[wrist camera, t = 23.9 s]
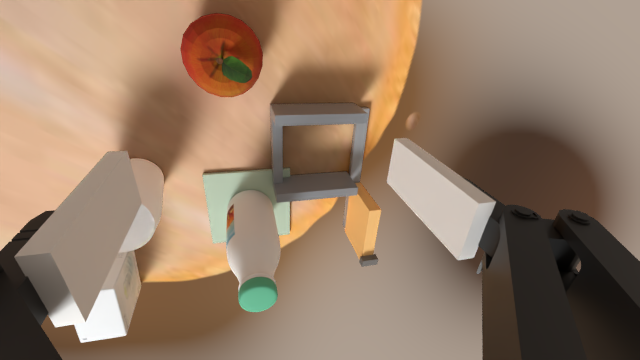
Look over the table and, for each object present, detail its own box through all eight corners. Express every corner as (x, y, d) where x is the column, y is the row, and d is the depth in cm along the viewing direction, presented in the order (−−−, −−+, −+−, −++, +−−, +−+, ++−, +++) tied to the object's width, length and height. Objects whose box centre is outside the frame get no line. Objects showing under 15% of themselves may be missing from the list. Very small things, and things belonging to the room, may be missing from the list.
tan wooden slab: (348, 183, 54) (370, 215, 46) (362, 182, 55) (386, 213, 46) (342, 231, 59) (361, 268, 51) (355, 229, 60) (376, 266, 52)
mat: (202, 173, 48) (202, 175, 47) (289, 167, 51) (290, 169, 51) (213, 241, 54) (213, 243, 54) (289, 232, 58) (289, 234, 57)
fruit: (203, -5, 37) (194, -10, 28) (271, 39, 41) (282, 47, 33) (174, 66, 40) (158, 80, 31) (241, 100, 44) (243, 121, 35)
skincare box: (143, 285, 55) (127, 337, 46) (103, 289, 53) (78, 344, 45) (135, 241, 50) (114, 289, 42) (90, 243, 49) (58, 295, 40)
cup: (181, 163, 46) (167, 206, 36) (161, 209, 49) (143, 260, 39) (115, 140, 42) (78, 181, 32) (98, 191, 45) (59, 243, 35)
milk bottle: (242, 180, 49) (247, 268, 32) (280, 200, 53) (303, 287, 36) (218, 214, 51) (211, 313, 34) (256, 231, 55) (268, 327, 38)
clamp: (270, 103, 45) (274, 115, 40) (367, 102, 49) (383, 113, 44) (273, 233, 57) (277, 254, 52) (352, 223, 61) (363, 242, 56)
